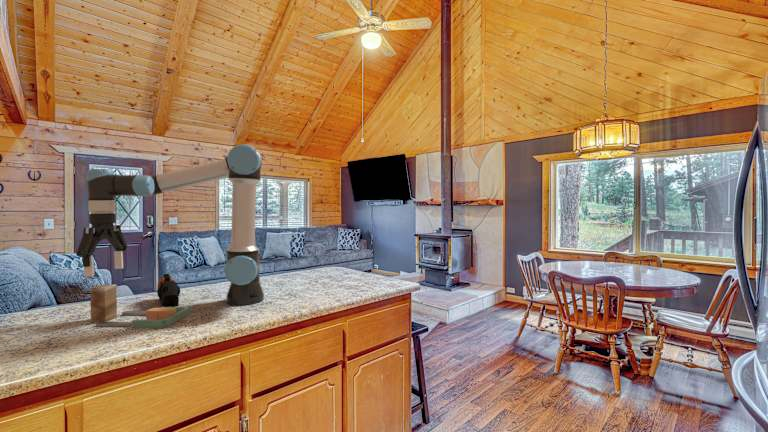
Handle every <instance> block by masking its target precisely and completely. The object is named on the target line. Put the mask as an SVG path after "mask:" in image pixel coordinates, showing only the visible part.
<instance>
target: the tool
mask: <svg viewBox="0 0 768 432" xmlns="http://www.w3.org/2000/svg"><path fill="white" fill-rule="evenodd" d="M156 293H157V297H158V299H159V300H158V302H161V303H160V304H161V307H179V305H180V304H179V298H180V297H179V296H180V294H181V287H180V286H179V285H178V283H177V282H176V281H175V280H174V279H173V278H172V276H171V275H170V273H164V274H163V275H162V276H161V278H160V280H159V281H158V283H157V290H156Z"/></svg>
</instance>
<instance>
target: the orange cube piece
mask: <svg viewBox="0 0 768 432" xmlns="http://www.w3.org/2000/svg"><path fill="white" fill-rule="evenodd" d="M174 314H176V308H163V309H161V310H159V311H158V320H164V319H166V318H168V317H170V316H172V315H174Z"/></svg>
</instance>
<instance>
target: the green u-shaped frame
mask: <svg viewBox="0 0 768 432" xmlns="http://www.w3.org/2000/svg"><path fill="white" fill-rule="evenodd" d="M159 308H176V314H174V315H172V316H170V317H168V318H166V319H164V320H146V319H133V320H132V321H131V322H132V329H133V328H138V329H142V328H143V329H146V328H147V329H149V328H150V329H154V328H155V329H160V328H161V329H163V328H167V327H169V326H171V325H173V324H174V323H176V322H178V321H179V320H181V319H183V318H184V317H186V316H188V315H191V311H192V310H191V308H192V307H191V306H176V307H162V306H161V307H159Z"/></svg>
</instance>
